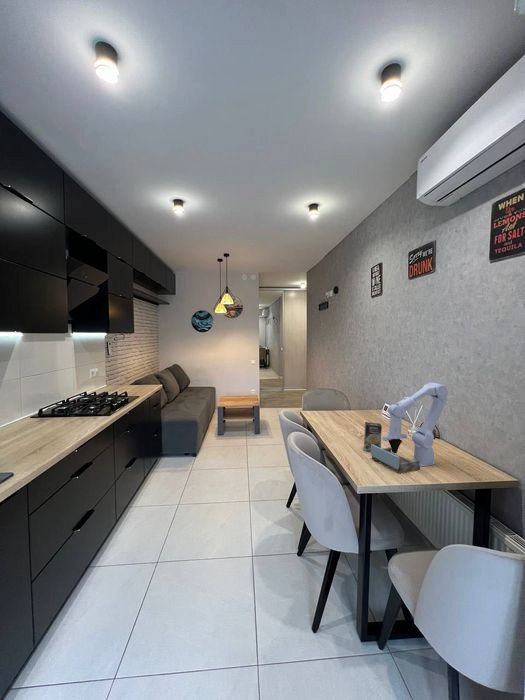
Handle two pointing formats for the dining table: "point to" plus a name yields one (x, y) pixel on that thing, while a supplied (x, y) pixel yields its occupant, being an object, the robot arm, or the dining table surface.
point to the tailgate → (385, 456)
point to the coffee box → (372, 435)
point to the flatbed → (402, 464)
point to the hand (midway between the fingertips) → (394, 452)
